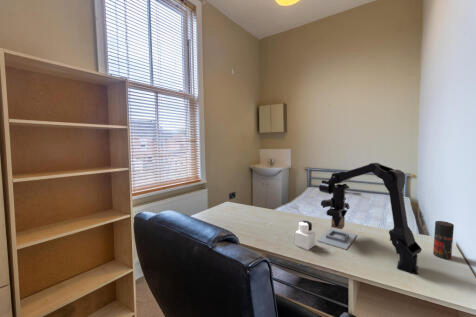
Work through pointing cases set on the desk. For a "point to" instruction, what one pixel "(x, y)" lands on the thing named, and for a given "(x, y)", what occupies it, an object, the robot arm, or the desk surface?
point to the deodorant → (443, 240)
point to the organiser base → (337, 238)
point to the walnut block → (341, 224)
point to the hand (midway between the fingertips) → (338, 225)
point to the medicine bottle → (305, 235)
